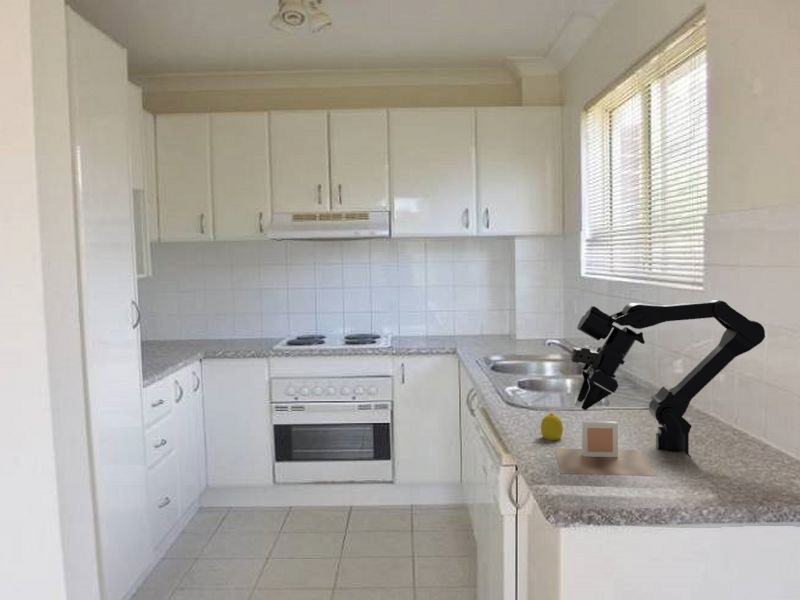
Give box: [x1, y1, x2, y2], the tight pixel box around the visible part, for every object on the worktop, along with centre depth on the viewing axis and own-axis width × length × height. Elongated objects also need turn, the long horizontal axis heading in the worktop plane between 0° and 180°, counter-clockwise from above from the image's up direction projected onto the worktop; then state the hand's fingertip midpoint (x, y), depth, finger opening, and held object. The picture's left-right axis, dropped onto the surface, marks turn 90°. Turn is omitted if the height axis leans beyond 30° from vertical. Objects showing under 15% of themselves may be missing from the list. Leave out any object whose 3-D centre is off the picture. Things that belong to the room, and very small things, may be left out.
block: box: [580, 420, 619, 457], centre depth 148 cm, size 8×2×8 cm, turn 80°
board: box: [554, 447, 658, 477], centre depth 145 cm, size 20×18×2 cm
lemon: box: [540, 412, 564, 441], centre depth 164 cm, size 6×6×8 cm
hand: (580, 404), depth 155 cm, fingers open, 9 cm apart
